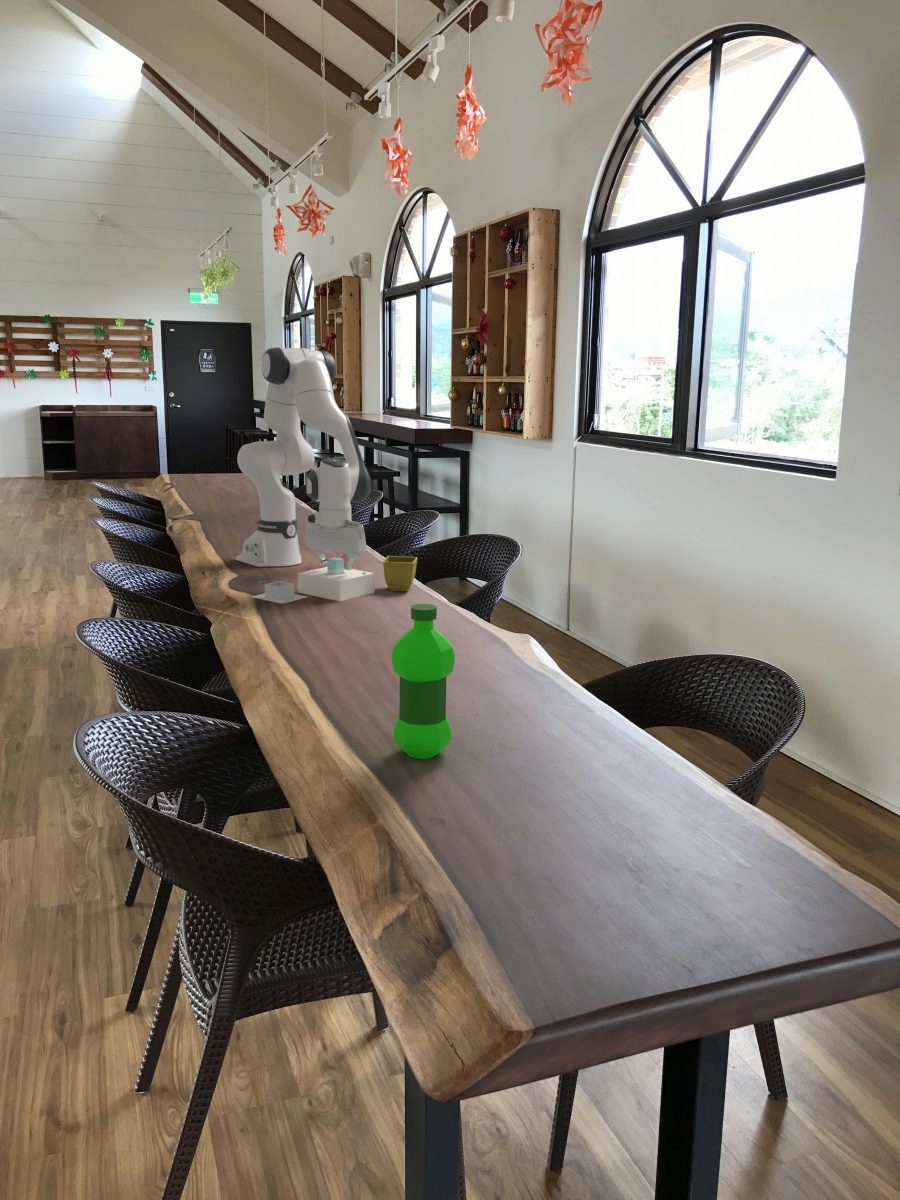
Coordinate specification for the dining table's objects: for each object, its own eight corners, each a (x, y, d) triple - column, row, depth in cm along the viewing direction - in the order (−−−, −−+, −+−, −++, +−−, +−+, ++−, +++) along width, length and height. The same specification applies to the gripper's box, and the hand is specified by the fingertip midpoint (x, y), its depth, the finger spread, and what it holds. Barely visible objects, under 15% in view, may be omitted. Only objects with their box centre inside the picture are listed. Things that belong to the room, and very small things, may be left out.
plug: (327, 590, 268) (327, 559, 265) (335, 588, 270) (335, 557, 268) (336, 592, 266) (335, 560, 264) (343, 590, 268) (343, 558, 266)
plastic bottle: (451, 740, 164) (453, 599, 158) (453, 765, 154) (456, 615, 148) (392, 740, 164) (393, 598, 158) (391, 765, 154) (391, 615, 148)
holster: (250, 598, 261) (250, 584, 260) (277, 592, 269) (277, 578, 268) (281, 605, 254) (281, 590, 253) (308, 598, 262) (308, 584, 261)
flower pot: (417, 587, 279) (417, 556, 276) (413, 593, 270) (413, 562, 268) (387, 585, 279) (387, 555, 277) (382, 592, 271) (382, 561, 269)
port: (298, 594, 267) (297, 571, 266) (332, 585, 278) (332, 564, 277) (340, 603, 258) (340, 579, 256) (374, 594, 269) (374, 571, 267)
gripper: (371, 521, 259) (371, 570, 263) (317, 512, 271) (317, 560, 275) (355, 524, 255) (355, 574, 258) (301, 515, 266) (301, 563, 270)
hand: (335, 567), depth 266 cm, fingers open, 8 cm apart
